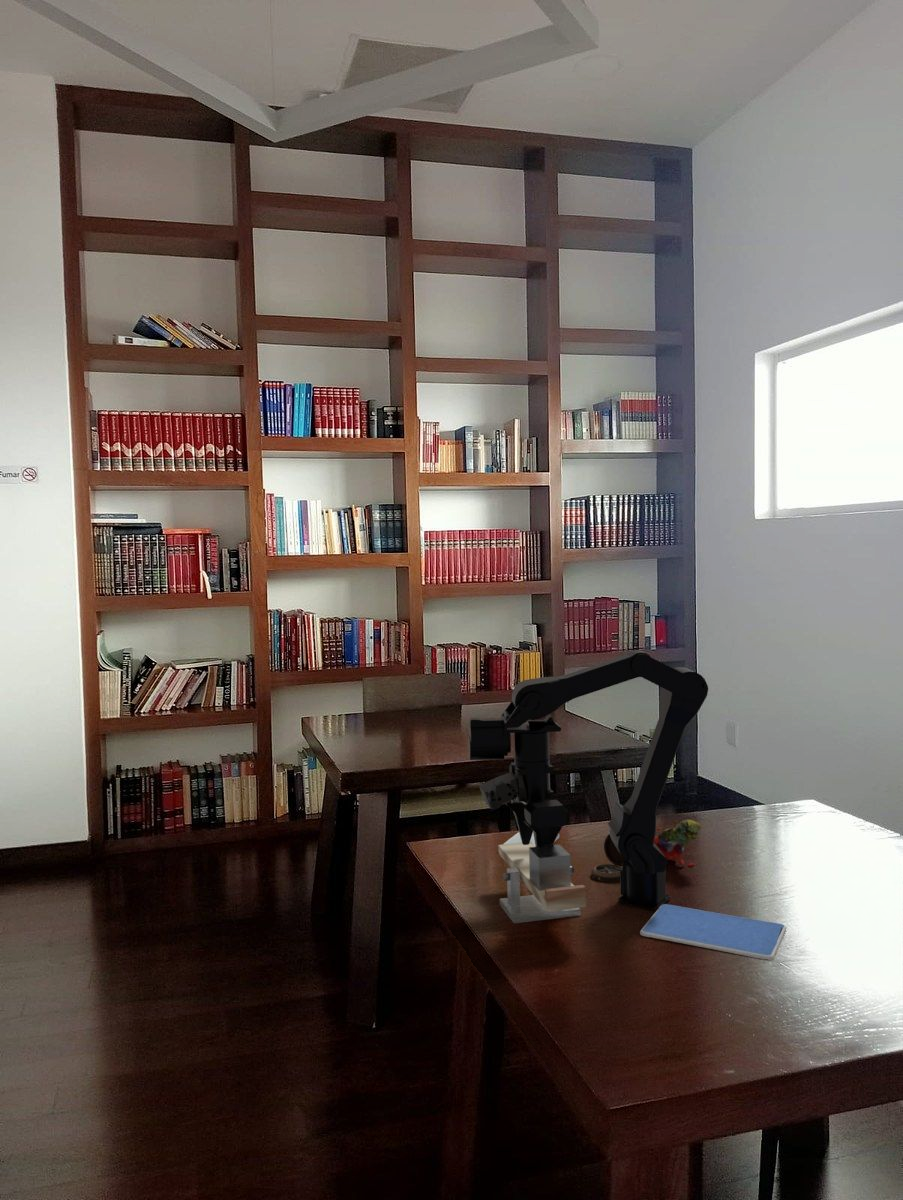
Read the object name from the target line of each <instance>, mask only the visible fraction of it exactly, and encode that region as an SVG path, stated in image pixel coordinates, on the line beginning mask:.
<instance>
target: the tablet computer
mask: <svg viewBox="0 0 903 1200" xmlns="http://www.w3.org/2000/svg"><path fill="white" fill-rule="evenodd" d="M786 929H787V926H786V925H785V924H782V923H777V922H772V921H766V920H761V919H753V918H747V917H744V916H743V917H741V916H736V915H730V914H726V913H725V914H724V913H718V912H715V911H714V912H713V911H707V910H702V909H696V908H692V907H691V908H690V907H685V906H679V905H675V904H667V903H664V904H662V905H661V906H659V907H658V908H657V910H656V911H655V912H654V913H653V914H652V916H651V917H650V919H649V920H648V921H647V922H646V923H645V924H644V925H643V927H642V928H641V930H640V931H639V934H640V936H642V937H646V938H653V939H658V940H662V941H666V942H673V943H677V944H683V945H689V946H694V947H700V948H704V949H708V950H709V949H710V950H715V951H719V952H724V953H730V954H735V955H739V956H743V957H750V958H755V959H759V958H761V959H760V960H764V959H768V960H767V961H773V960H774V959H775V958H776V955H777V953H778V951H777V950H779V948H780V946H781V944H782V942H781V940H782V939H783V940H784V937H785V935H786V933H787V931H786ZM785 932H786V933H785ZM784 934H785V935H784ZM783 936H784V937H783ZM783 940H782V941H783ZM780 943H781V944H780ZM779 945H780V946H779ZM778 947H779V948H778ZM774 957H775V958H774ZM773 958H774V959H773ZM772 959H773V960H772Z"/></svg>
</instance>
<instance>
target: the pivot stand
mask: <svg viewBox="0 0 903 1200" xmlns="http://www.w3.org/2000/svg"><path fill="white" fill-rule="evenodd" d="M572 874H575V871H574V866H573V865H571V875H572ZM502 880H503V882H507V883H506V888H507V889H506V890H507V893H506V894H507V897H503V898H499V906H500V905H501V906H500V907H501V908H502V909H503V911H504V912H505V913H506V915H507V917H509V919H510V920H511V922H512V923H513V924H520V923H529V922H536V921H537V922H538V921H546V920H553V919H563V918H568V917H577V916H579V917H580V916H581V908H573V909H564V910H556V911H547V910H546V909H545V908H544V907H543V906H542V904H541V903H540V902H539V901H538V900H537V899H536V897H535V896H534V895H533V894H529V895H521V883H520V882H521V879H520V872H519V870H518V869H517V868H510V867H507V868H506V872H505V873H502Z"/></svg>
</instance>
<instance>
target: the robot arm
mask: <svg viewBox="0 0 903 1200" xmlns="http://www.w3.org/2000/svg"><path fill="white" fill-rule="evenodd" d="M637 678H642V679H644V680H646V681H648V682H650V683H653V684H654V685H656V686H658V687H660V688H661V689H660V694H659V705H658V707H659V709H658V710H659V716H658V719H657V723H656V726H655V728H654V731H653V734H652V737H651V741H650V742H649V745H648V748H647V751H646V755H645V757H644V760H643V762H642V764H641V768H640V771H639V772H638V773H639V774H638V776H637V780H636V783H635V785H634V787H633V789H632V790H633V791H632V793H631V796H630V797H629V799H628V800H627V801H626V802H625V804H624V805H622V804H620V803H619V802H615V805H614V807H613V808H614V809H613V814H612V816H611V819H610V820H609V821H608V823H607V825H608V827H609V828H610V829H609V834H610V837H611V839H612V841H613V843H614V845H615V846H616V848H617V849H618V851H619V852H620V854H621V855H622V856H623V857H624V858H625V859H627V860H626V861H624V862H623V863H622V866H621V868H622V870H621V871H620V881H619V883H620V885H619V888H620V889H619V890H620V893H619V894H620V895H621V896H619V897H618V898H617V902H618V903H619V904H620V903H621V904H624V905H627V906H628V905H629V906H633V907H638V908H642V909H645V910H649V911H655V910H656V909H658V908H659V907H660V906H661V905H663V904H666V903H667V902H668V901H669V900H671V895H669V894H666V892H667V891H666V890H667V889H666V884H667V883H666V867H667V865H668V861H669V860H667V858H666V857H665V856H664V855H663V853H662V852H661V851H660V850H659V848H658V847H657V846H656V845H655V843H654V839H655V838H656V832H657V809H658V805H659V802H660V800H661V797H662V795H663V791H664V789H665V786H666V783H667V779H668V777H669V775H670V772H671V769H672V766H673V763H674V760H675V757H676V755H677V753H678V749H679V746H680V743H681V741H682V737H683V735H684V733H685V730H686V728H687V727H688V725H689V724H690V723H691V721H692V720H693V719H694V718H695V717H696V716H697V714H698V713H699V711H700V710H701V708H702V706H703V704H704V702H705V700H706V699H707V697H708V692H709V685H708V683H707V682H706V679H705V677H704V676H702V675H701V674H700V673H698V672H697V671H694V670H692V669H689V668H687V667H683V666H682V667H681V666H677V667H672V666H669V665H667V664H665V663H664V662H661V661H659V660H658V659H655V658H653V657H652V656H651V655H650V654H648V653H647V652H644V651H642V650H638V649H635V650H630V651H629V652H628V653H626V654H623V655H621V656H616V657H614V658H611V659H609V660H605V661H602V662H600V663H596V664H593V665H590V666H588V667H585V668H582V669H578V670H576V671H573V672H569V673H566V674H562V675H556V676H543V677H537V678H535V677H534V678H529V679H524V680H522V681H520V682H518V683H517V684H516V685H515V686H514V688H513V690H512V694H511V701H510V703H509V704H508V705H507V707H506V708H505V710H503V712H502V714H501V715H500V717H499V718H496V717H495V718H480V717H470V718H469V735H468V736H467V738H468V740H467V741H468V743H467V744H468V757H469V761H492V760H493V761H495V760H501V761H502V760H505V756H507V757H508V755H509V754H511V752H512V751H511V750H512V739H511V738H512V737H511V734H513V746H514V747H513V751H514V753H513V755H514V759H513V760H514V762H512V761H511V762H510V765H509V767H508V768H509V770H508V771H509V772H508V773H507V772H506V773H505V774H503V775H499V776H497V777H494V778H492V779H490V780H488V781H486V782H484V783H482V784H480V785H479V789H480V793H481V794H482V797H483V801H484V803H485V805H487V806H488V808H489V809H490V810H497V809H499V808H500V807H501V806H503V805H506V806H507V807H508V809H510V810H511V811H512V812H513V815H514V818H515V822H516V825H517V829H518V832H519V833H520V837H521V841H522V844H523V845H528V844H529V843H530V840H531V837H532V833H534V839H535V845H536V847H539V846H549V845H555V842H556V841H555V839H556V837H557V836H558V834H559V835H560V832H561V830H562V828H563V827H565V826H566V825H567V824H569V823H570V810H569V809H568V808H567V807H566V806H565V805H563V804H562V803H561V802H560V801H559V800H558V799H554V798H555V791H554V790H552V789H551V777H550V776H551V774H553V773H554V772H555V771H554V765H552V764H550V763H551V761H550V759H551V758H550V733H556V732H558V733H559V732H561V731H562V727H561V726H560V724H559V723H557V722H556V721H555V720H554V718H553V717H552V716H551V713H554V712H555V711H557V710H559V709H560V708H561V707H562V706H564V705H565V704H566V703H569V702H570V701H572V700H574V699H577V698H580V697H582V696H583V697H584V696H586V695H588V694H591V693H592V694H593V693H594V692H595V693H596V692H598V691H602V690H604V689H607V688H610V687H613V686H616V685H619V684H622V683H625V682H627V681H631V680H634V679H637ZM545 716H546V717H545ZM544 717H545V718H544ZM542 718H544V719H542ZM524 724H525V725H524ZM547 799H548V800H547Z"/></svg>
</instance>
